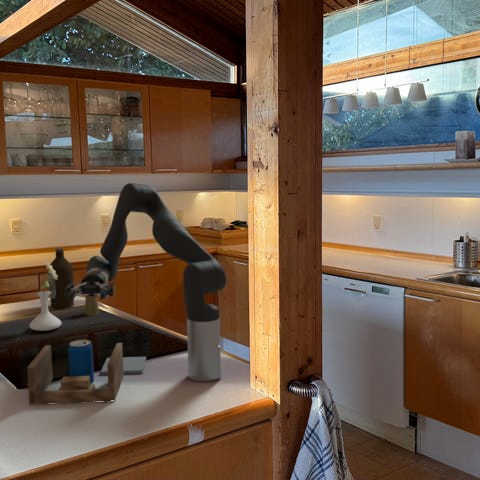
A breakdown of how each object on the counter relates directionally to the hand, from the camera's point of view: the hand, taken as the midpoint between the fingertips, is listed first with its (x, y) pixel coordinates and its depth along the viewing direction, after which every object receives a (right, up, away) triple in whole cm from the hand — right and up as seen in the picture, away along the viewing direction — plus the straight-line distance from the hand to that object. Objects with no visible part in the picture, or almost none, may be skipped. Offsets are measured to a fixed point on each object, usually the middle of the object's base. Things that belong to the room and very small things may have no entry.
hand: (86, 296), depth 175 cm
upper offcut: (+2, -22, -18) cm, 29 cm away
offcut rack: (+2, -24, -14) cm, 28 cm away
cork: (-15, -13, +67) cm, 70 cm away
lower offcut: (+2, -25, -17) cm, 30 cm away
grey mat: (+10, -22, +4) cm, 24 cm away
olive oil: (-31, -12, +79) cm, 86 cm away
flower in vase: (-27, -16, +46) cm, 56 cm away
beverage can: (+1, -24, -10) cm, 26 cm away
